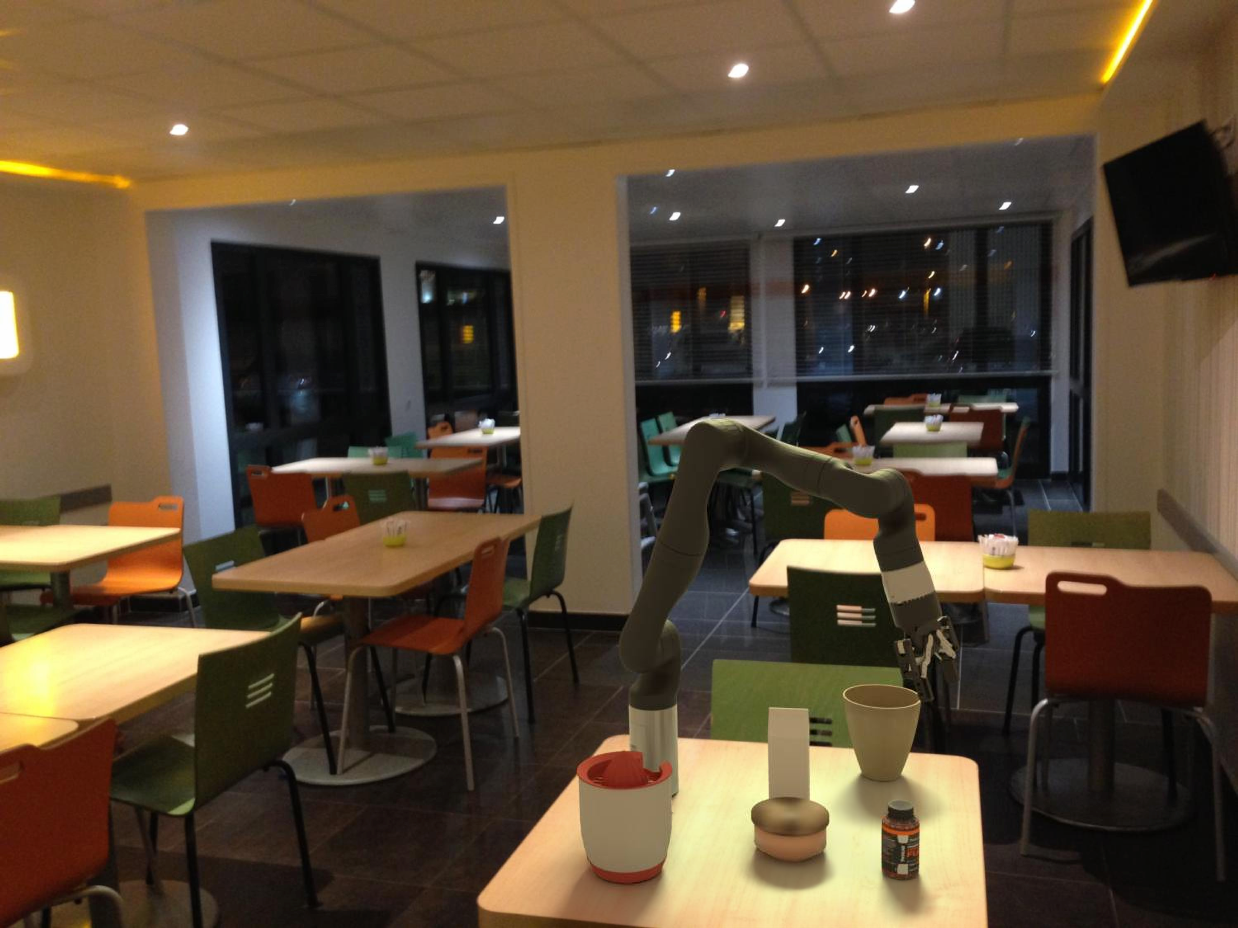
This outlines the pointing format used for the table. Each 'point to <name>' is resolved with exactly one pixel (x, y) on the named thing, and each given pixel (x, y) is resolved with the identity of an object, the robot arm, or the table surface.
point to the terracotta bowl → (790, 845)
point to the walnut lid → (790, 816)
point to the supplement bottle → (900, 841)
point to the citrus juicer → (625, 815)
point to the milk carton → (788, 753)
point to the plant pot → (881, 727)
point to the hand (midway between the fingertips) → (940, 691)
